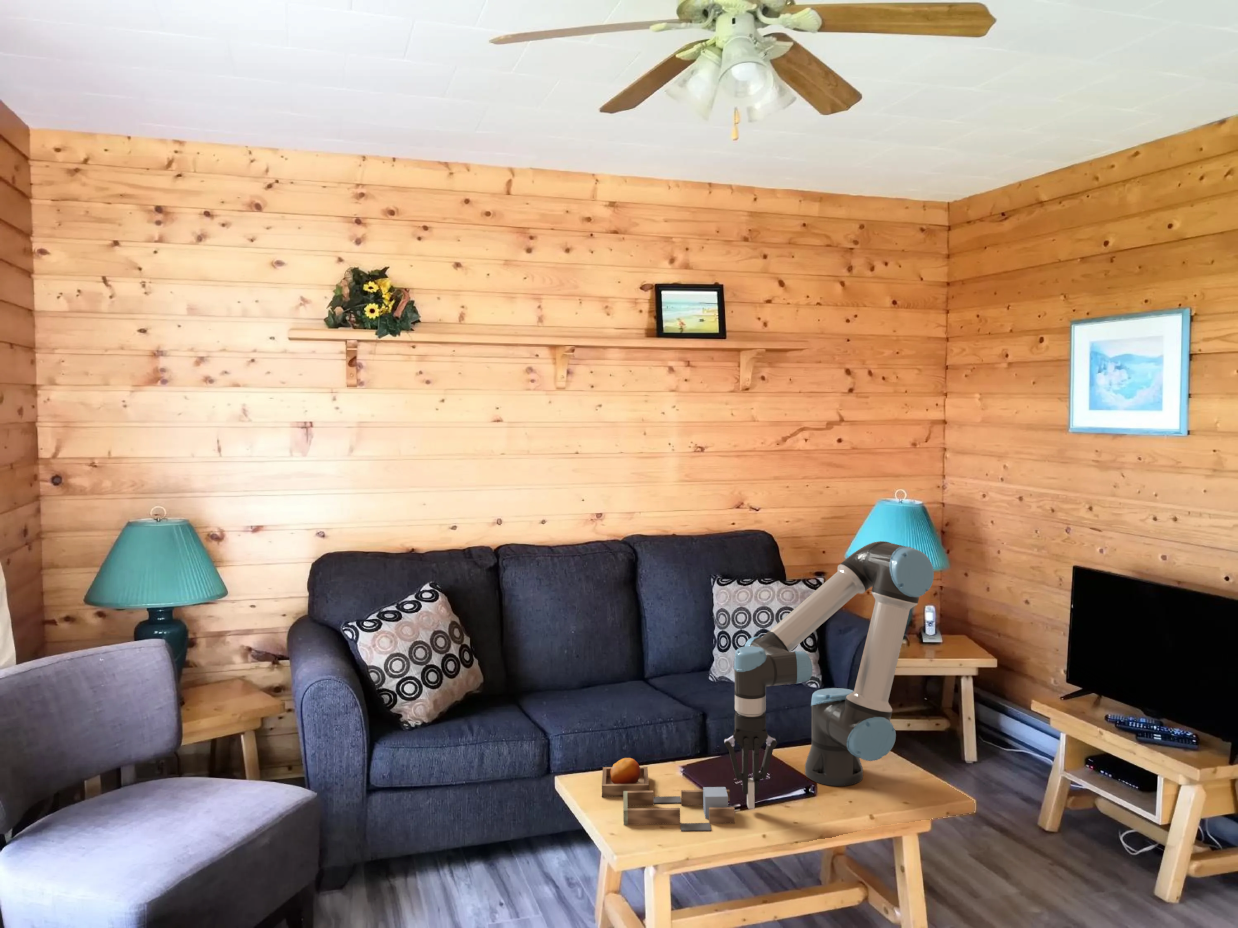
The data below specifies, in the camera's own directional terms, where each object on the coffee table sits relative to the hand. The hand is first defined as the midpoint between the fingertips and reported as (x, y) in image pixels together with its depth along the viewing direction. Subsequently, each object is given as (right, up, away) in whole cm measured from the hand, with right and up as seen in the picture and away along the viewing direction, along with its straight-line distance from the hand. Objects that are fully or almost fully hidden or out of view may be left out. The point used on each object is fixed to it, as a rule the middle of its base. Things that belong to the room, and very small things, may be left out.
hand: (750, 805), depth 222 cm
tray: (-30, -1, +16) cm, 35 cm away
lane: (-18, -2, 0) cm, 18 cm away
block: (-9, -2, 0) cm, 9 cm away
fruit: (-30, -1, +16) cm, 35 cm away
